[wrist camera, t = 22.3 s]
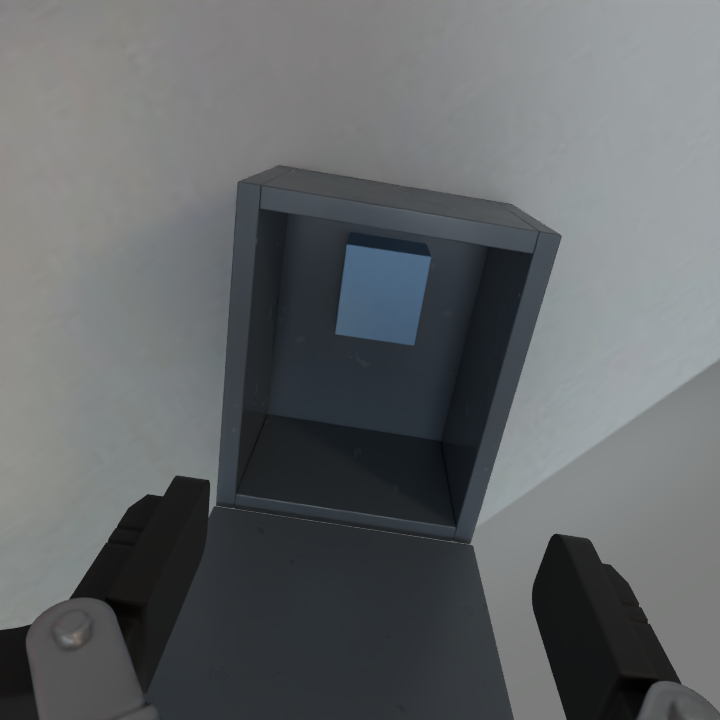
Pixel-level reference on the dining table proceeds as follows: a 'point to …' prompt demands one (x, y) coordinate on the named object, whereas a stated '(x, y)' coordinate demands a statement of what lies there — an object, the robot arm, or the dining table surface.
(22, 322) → the dining table surface
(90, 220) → the dining table surface
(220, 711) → the grey box lid
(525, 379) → the dining table surface
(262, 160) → the dining table surface
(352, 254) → the block
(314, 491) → the grey storage box
